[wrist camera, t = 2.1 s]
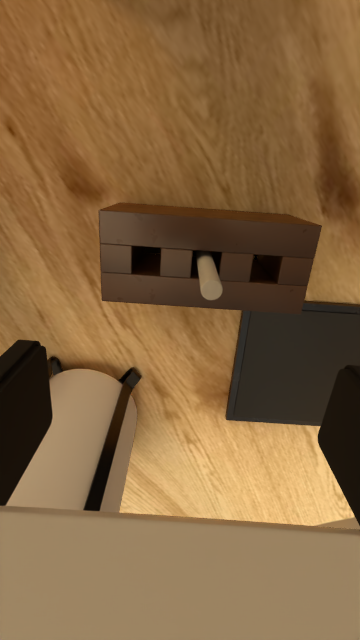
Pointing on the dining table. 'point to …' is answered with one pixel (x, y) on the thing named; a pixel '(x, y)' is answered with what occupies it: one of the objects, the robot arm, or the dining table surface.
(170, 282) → the pen block
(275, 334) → the tablet
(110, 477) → the coffee press
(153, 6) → the dining table surface
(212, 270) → the rod
